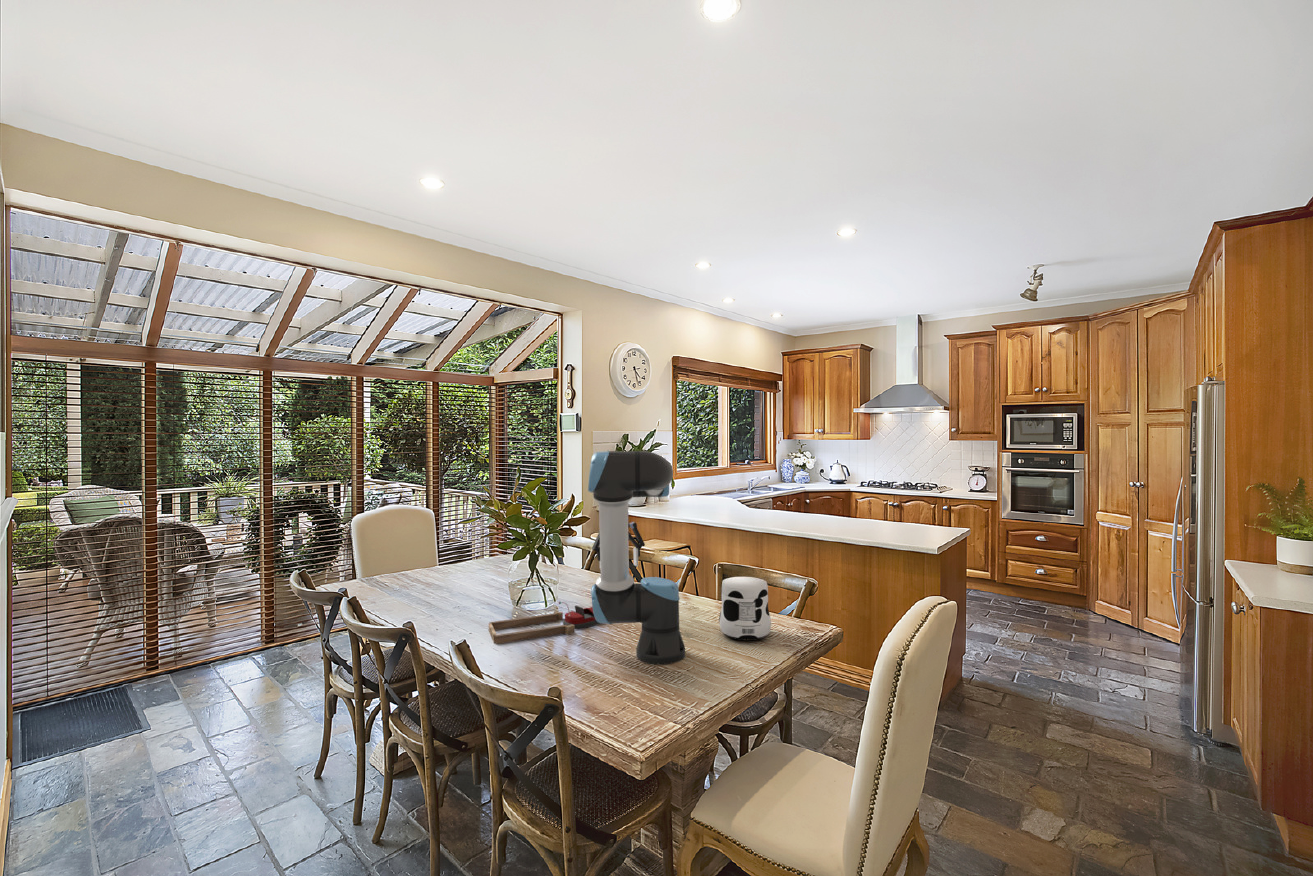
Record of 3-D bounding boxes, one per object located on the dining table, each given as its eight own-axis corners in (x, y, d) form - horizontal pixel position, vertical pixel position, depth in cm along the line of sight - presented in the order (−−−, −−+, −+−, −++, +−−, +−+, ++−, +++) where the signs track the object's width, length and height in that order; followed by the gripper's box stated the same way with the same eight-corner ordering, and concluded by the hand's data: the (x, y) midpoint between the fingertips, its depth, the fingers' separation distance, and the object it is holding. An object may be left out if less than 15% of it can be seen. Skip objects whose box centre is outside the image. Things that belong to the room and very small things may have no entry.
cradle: (575, 633, 198) (575, 626, 198) (495, 646, 187) (495, 638, 187) (561, 617, 215) (561, 611, 215) (487, 628, 205) (487, 621, 205)
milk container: (745, 623, 206) (744, 573, 206) (782, 636, 192) (781, 583, 192) (708, 633, 196) (708, 581, 196) (745, 648, 182) (744, 592, 182)
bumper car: (613, 620, 212) (613, 593, 212) (567, 634, 198) (567, 605, 198) (597, 614, 219) (597, 588, 219) (552, 627, 206) (551, 599, 206)
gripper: (644, 507, 223) (645, 562, 223) (583, 511, 213) (583, 569, 213) (652, 509, 216) (653, 565, 217) (589, 514, 206) (590, 573, 206)
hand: (619, 567), depth 215 cm, fingers open, 13 cm apart
